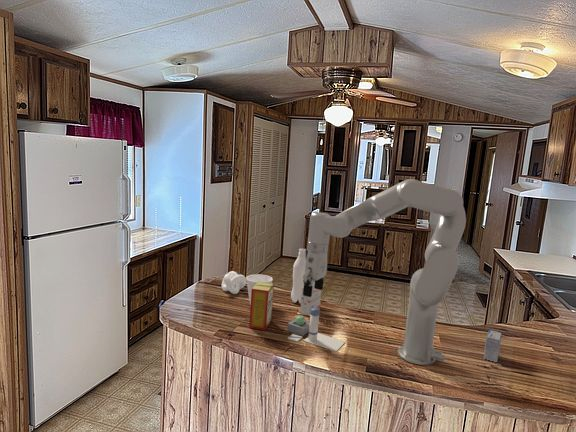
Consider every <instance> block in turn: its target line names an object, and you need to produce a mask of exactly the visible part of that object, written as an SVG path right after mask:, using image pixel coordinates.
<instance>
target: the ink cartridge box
mask: <svg viewBox="0 0 576 432" xmlns="http://www.w3.org/2000/svg"><path fill="white" fill-rule="evenodd" d="M312 286H313V287H312V296H311V297H308V296H304V295H303V288H304V287H302V296H301V303H300V311H299V313H300V314H302V315H305V316H308V317H310V311H311V308H319V309H320V308H321V301H322V300H321V297H322V290H319V289H315V288H314V286H315V281H313V283H312ZM320 310H321V309H320Z"/></svg>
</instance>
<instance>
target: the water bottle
mask: <svg viewBox="0 0 576 432" xmlns="http://www.w3.org/2000/svg"><path fill="white" fill-rule="evenodd" d="M306 252H307V248H299V249H298V253H297V254H298V255H297V258H296V260H295V261H294V263H293V266H292V267H293V270H292V290H291V293H290V298H291V300H292V302H293V303H297V302H298V303H299V304H301V296H302V287H304V284H303V283H304V282H303V280H304V279H303V275H304V274H305V265H306V259H307V253H306Z"/></svg>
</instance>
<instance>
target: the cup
mask: <svg viewBox="0 0 576 432" xmlns="http://www.w3.org/2000/svg"><path fill="white" fill-rule="evenodd" d="M245 278H246V285H247V293H248V300H249V306H250V305H251V291H252V288H253V287H254V286H255V285H256V284H257V282H265V283H272V284H273V280H274V278H273V277H272V276H269V275H267V274H259V273H256V274H250V275H247V276H245Z"/></svg>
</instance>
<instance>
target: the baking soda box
mask: <svg viewBox="0 0 576 432" xmlns="http://www.w3.org/2000/svg"><path fill="white" fill-rule="evenodd" d="M274 286H275V284H274V283H273V282H272V283H265V282H257V284H256V285H255V286H254V287H253V288H252V291H251V306H250V307H249V308H250V310H249V325H248V328H250V329H254V330H255V329H256V330H261V331H262V330H263V331H266V330H267V328H268V327H269V326H270V324H271V322H272V316H273V313H272V312H273V303H274V302H273V301H274Z"/></svg>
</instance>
